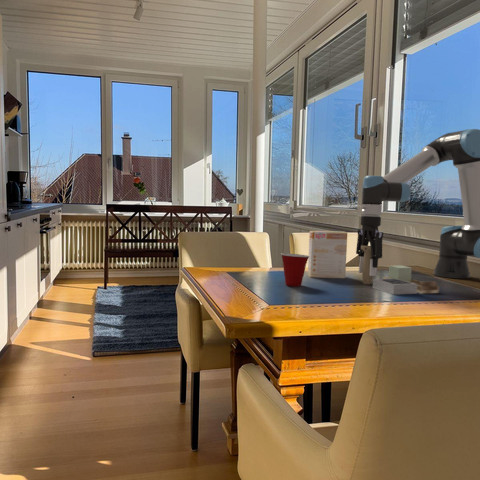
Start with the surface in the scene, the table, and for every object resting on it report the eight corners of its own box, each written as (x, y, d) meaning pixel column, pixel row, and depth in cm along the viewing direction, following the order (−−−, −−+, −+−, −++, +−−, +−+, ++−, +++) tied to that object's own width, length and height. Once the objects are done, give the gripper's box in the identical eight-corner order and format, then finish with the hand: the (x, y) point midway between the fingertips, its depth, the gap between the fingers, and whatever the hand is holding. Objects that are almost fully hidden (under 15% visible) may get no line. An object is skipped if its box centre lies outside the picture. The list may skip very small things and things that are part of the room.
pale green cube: (400, 280, 182) (401, 265, 182) (410, 282, 177) (411, 267, 176) (388, 280, 180) (389, 265, 180) (398, 283, 175) (399, 267, 174)
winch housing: (394, 287, 172) (395, 278, 172) (416, 293, 161) (417, 284, 160) (372, 288, 169) (373, 278, 168) (393, 294, 157) (393, 284, 157)
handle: (370, 285, 173) (373, 247, 172) (356, 283, 178) (358, 245, 177) (377, 284, 176) (379, 246, 175) (363, 282, 181) (365, 245, 180)
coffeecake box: (341, 275, 195) (343, 231, 194) (345, 278, 188) (348, 232, 186) (307, 274, 195) (309, 230, 193) (310, 277, 188) (312, 231, 186)
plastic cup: (313, 285, 170) (314, 253, 169) (300, 289, 161) (301, 256, 160) (287, 281, 176) (289, 251, 175) (274, 285, 167) (275, 253, 166)
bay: (399, 282, 185) (399, 272, 184) (438, 292, 164) (439, 282, 163) (382, 282, 182) (383, 272, 182) (420, 293, 161) (421, 282, 161)
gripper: (348, 214, 183) (345, 270, 185) (378, 216, 164) (374, 278, 166) (364, 215, 185) (361, 270, 187) (395, 217, 167) (391, 278, 169)
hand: (367, 274), depth 177 cm, fingers open, 6 cm apart
